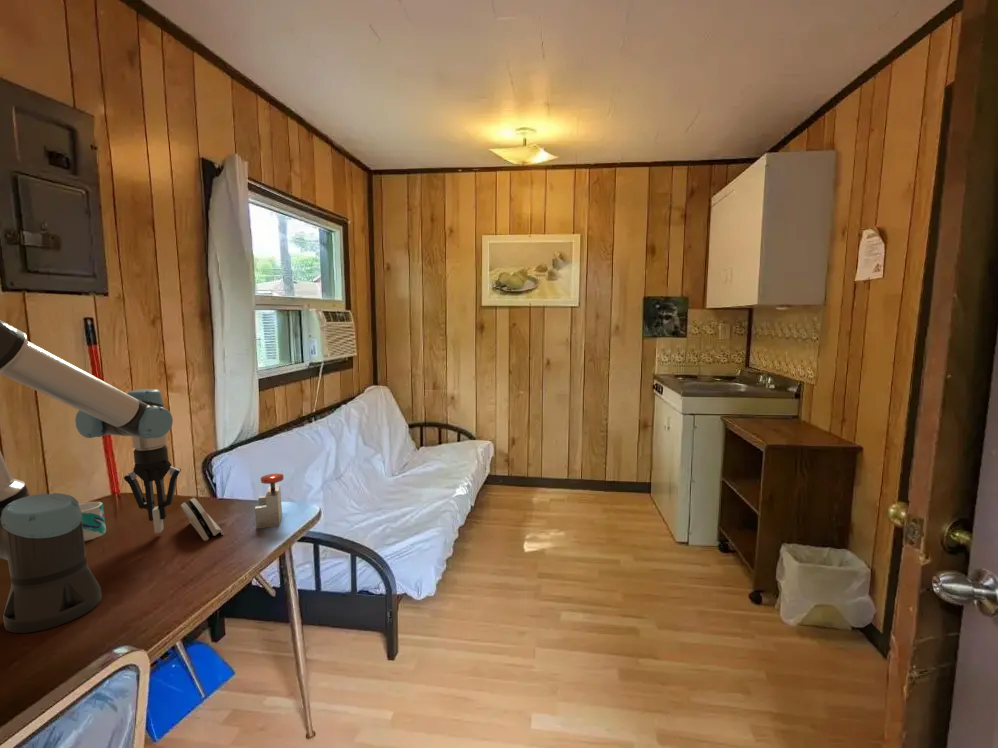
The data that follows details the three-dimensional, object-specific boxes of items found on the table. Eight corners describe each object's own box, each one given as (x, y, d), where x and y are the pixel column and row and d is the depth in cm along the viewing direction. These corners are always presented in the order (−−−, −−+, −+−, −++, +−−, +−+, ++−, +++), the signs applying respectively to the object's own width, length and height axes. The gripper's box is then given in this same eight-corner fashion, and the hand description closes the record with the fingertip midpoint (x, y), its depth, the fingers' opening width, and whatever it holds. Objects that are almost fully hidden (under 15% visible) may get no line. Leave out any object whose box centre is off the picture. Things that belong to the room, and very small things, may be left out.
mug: (66, 544, 136) (63, 514, 135) (70, 529, 145) (66, 501, 144) (105, 536, 141) (102, 507, 140) (106, 522, 150) (103, 495, 149)
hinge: (225, 535, 140) (208, 505, 136) (207, 546, 137) (189, 516, 133) (209, 517, 152) (193, 490, 149) (193, 527, 149) (176, 499, 146)
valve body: (285, 524, 146) (282, 480, 144) (256, 529, 143) (252, 484, 142) (287, 512, 155) (284, 470, 154) (260, 515, 153) (257, 473, 151)
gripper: (181, 441, 143) (189, 521, 146) (126, 446, 138) (135, 529, 141) (174, 447, 136) (183, 532, 139) (116, 453, 131) (126, 540, 134)
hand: (159, 530), depth 140 cm, fingers closed
